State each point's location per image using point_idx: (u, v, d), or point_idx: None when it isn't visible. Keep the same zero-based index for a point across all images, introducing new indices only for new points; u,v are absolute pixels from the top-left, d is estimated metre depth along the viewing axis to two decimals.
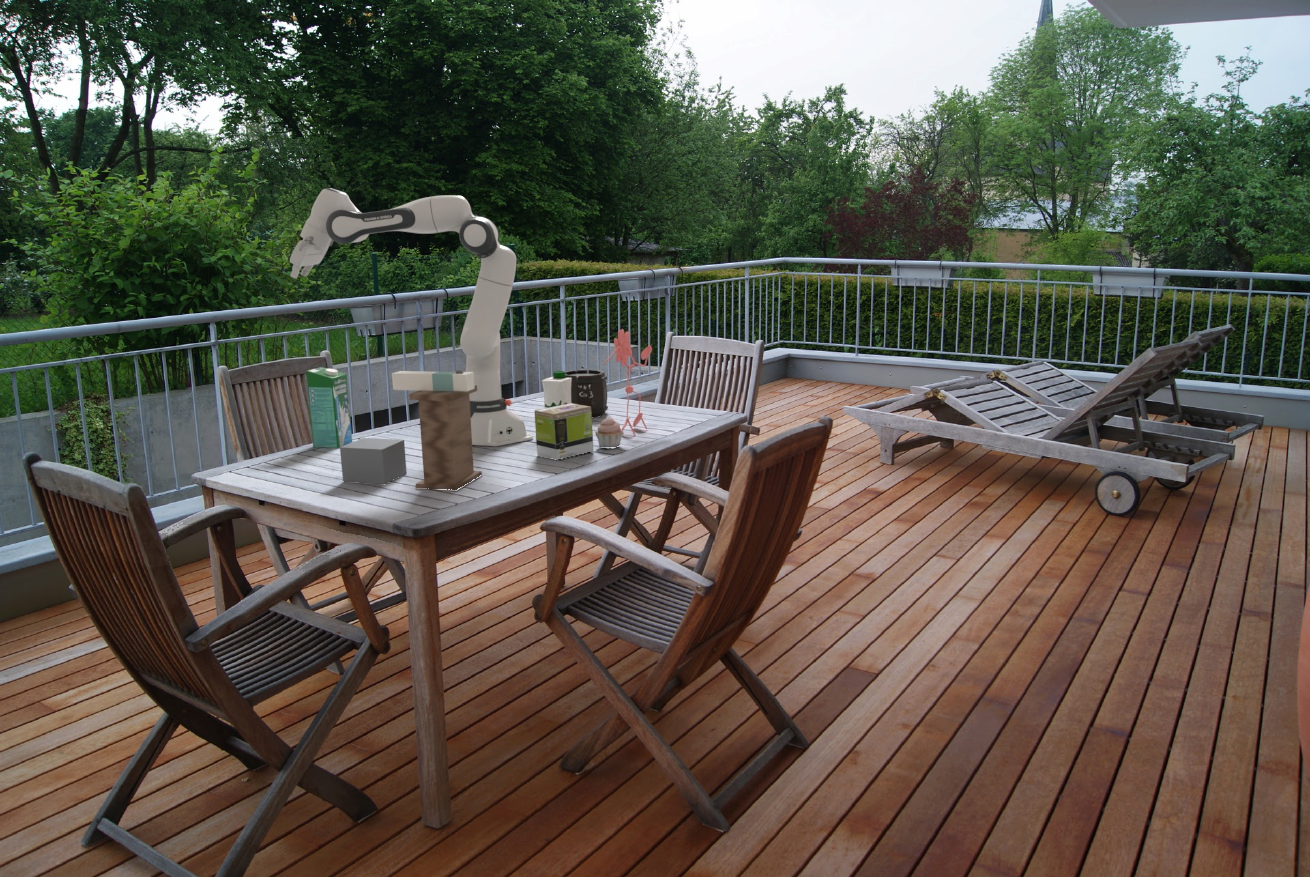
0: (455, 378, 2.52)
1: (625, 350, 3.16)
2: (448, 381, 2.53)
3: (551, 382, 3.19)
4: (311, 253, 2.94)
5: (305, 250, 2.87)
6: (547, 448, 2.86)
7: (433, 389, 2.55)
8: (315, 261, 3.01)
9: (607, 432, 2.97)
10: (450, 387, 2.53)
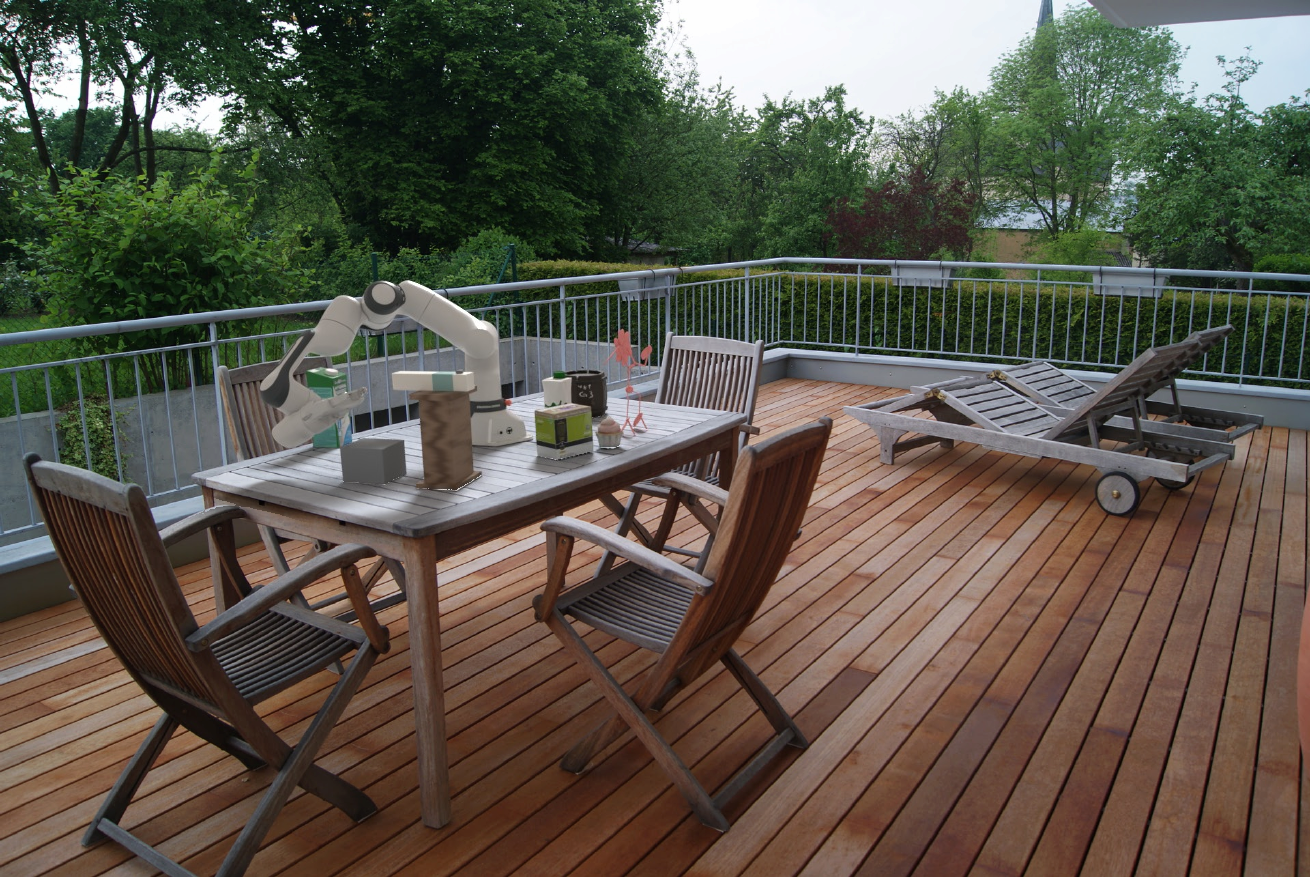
0: (455, 378, 2.52)
1: (625, 350, 3.16)
2: (448, 381, 2.53)
3: (551, 382, 3.19)
4: None
5: (307, 410, 2.58)
6: (547, 448, 2.86)
7: (433, 389, 2.55)
8: None
9: (607, 432, 2.97)
10: (450, 387, 2.53)
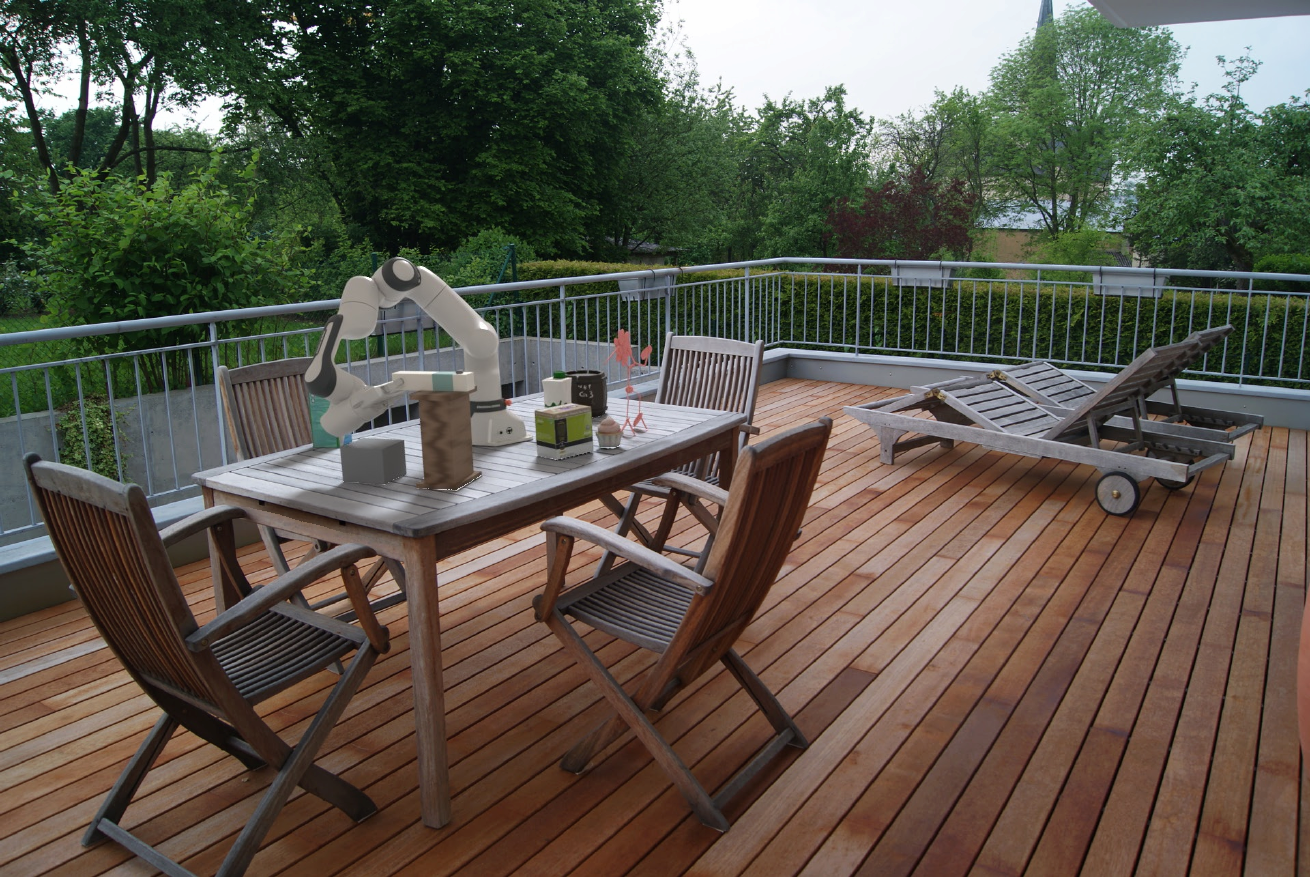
0: (455, 378, 2.52)
1: (625, 350, 3.16)
2: (448, 381, 2.53)
3: (551, 382, 3.19)
4: None
5: (358, 397, 2.53)
6: (547, 448, 2.86)
7: (433, 389, 2.55)
8: None
9: (607, 432, 2.97)
10: (450, 387, 2.53)
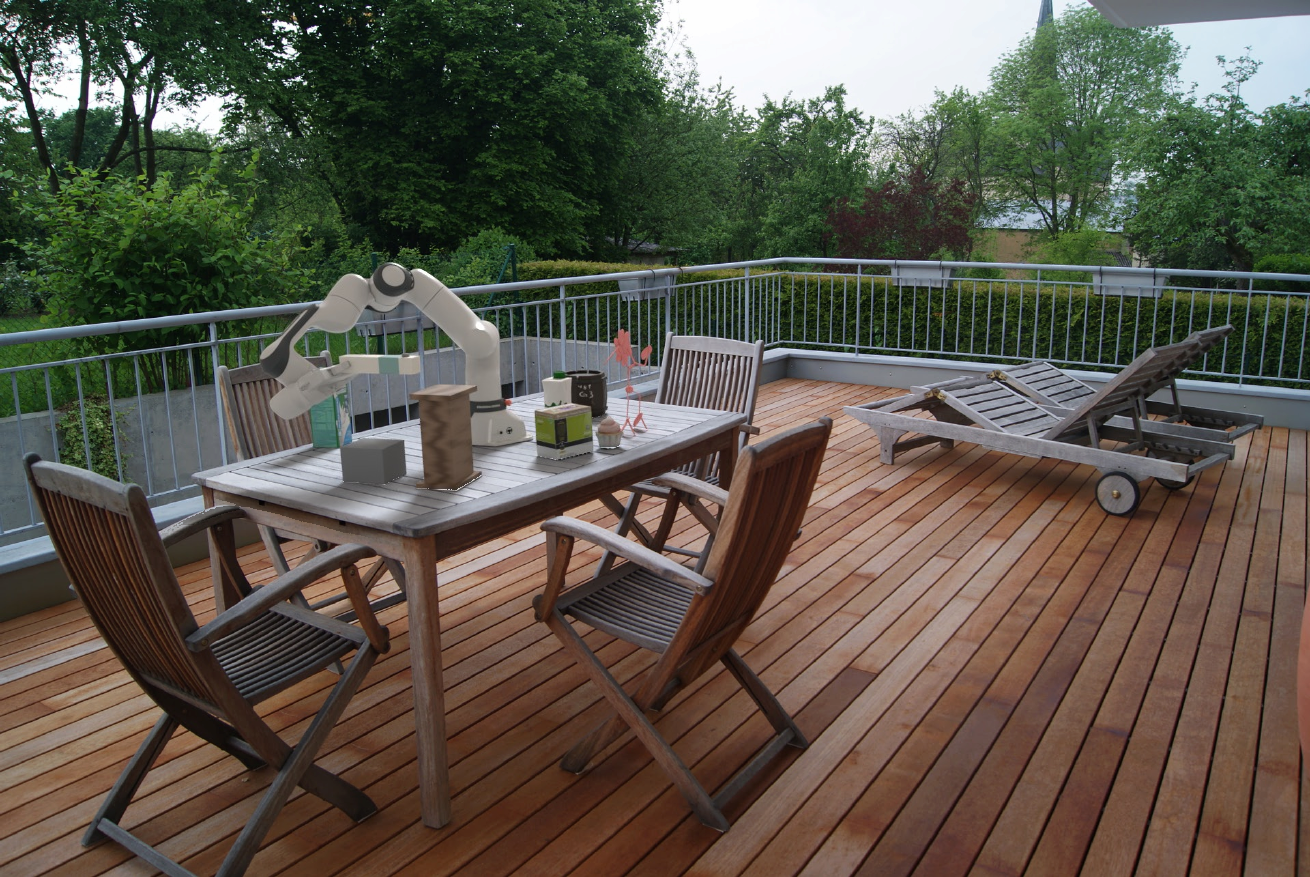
0: (401, 361, 2.55)
1: (625, 350, 3.16)
2: (394, 364, 2.56)
3: (551, 382, 3.19)
4: None
5: (305, 379, 2.56)
6: (547, 448, 2.86)
7: (379, 372, 2.58)
8: None
9: (607, 432, 2.97)
10: (396, 370, 2.56)
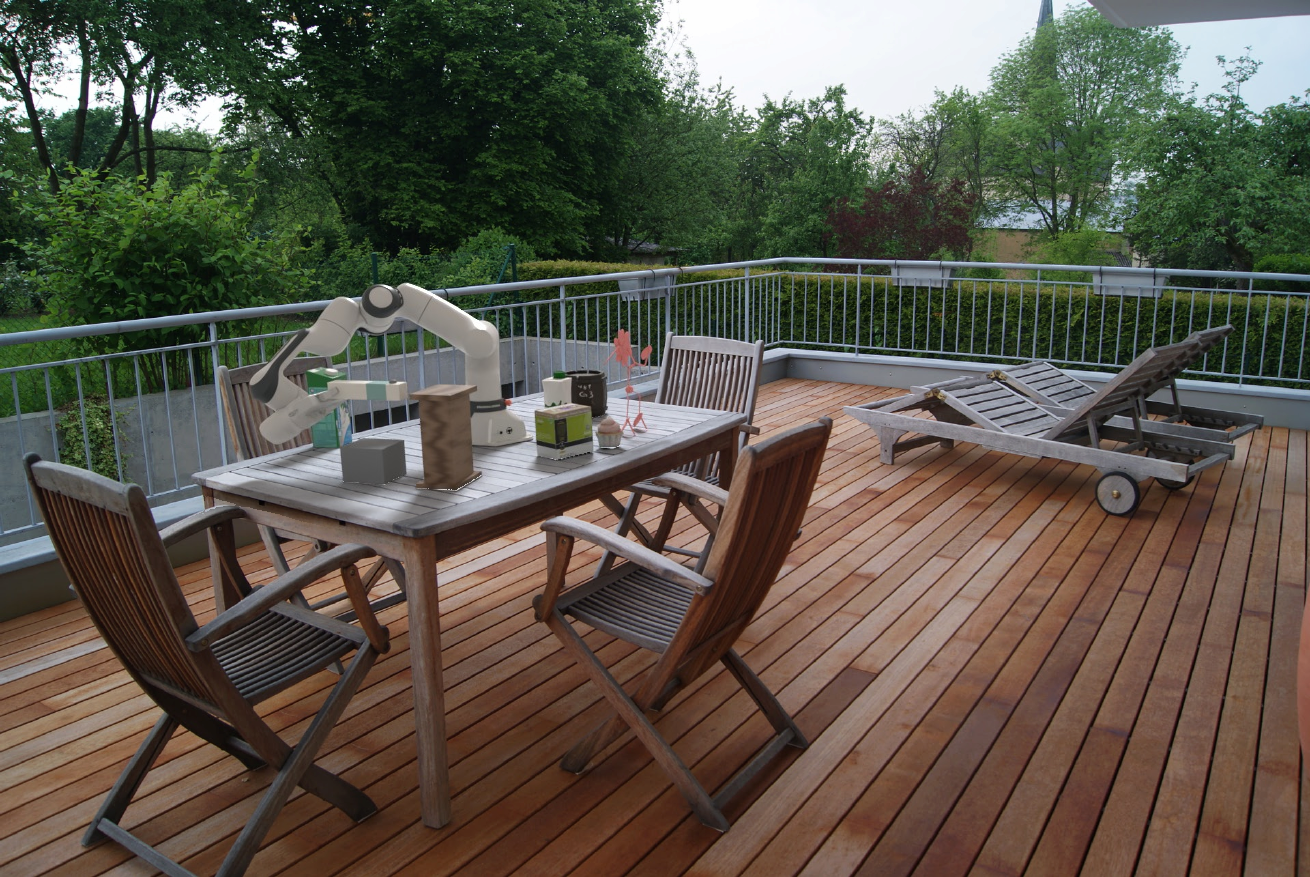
0: (388, 388, 2.58)
1: (625, 350, 3.16)
2: (382, 390, 2.59)
3: (551, 382, 3.19)
4: None
5: (293, 406, 2.58)
6: (547, 448, 2.86)
7: (367, 398, 2.60)
8: None
9: (607, 432, 2.97)
10: (383, 396, 2.59)
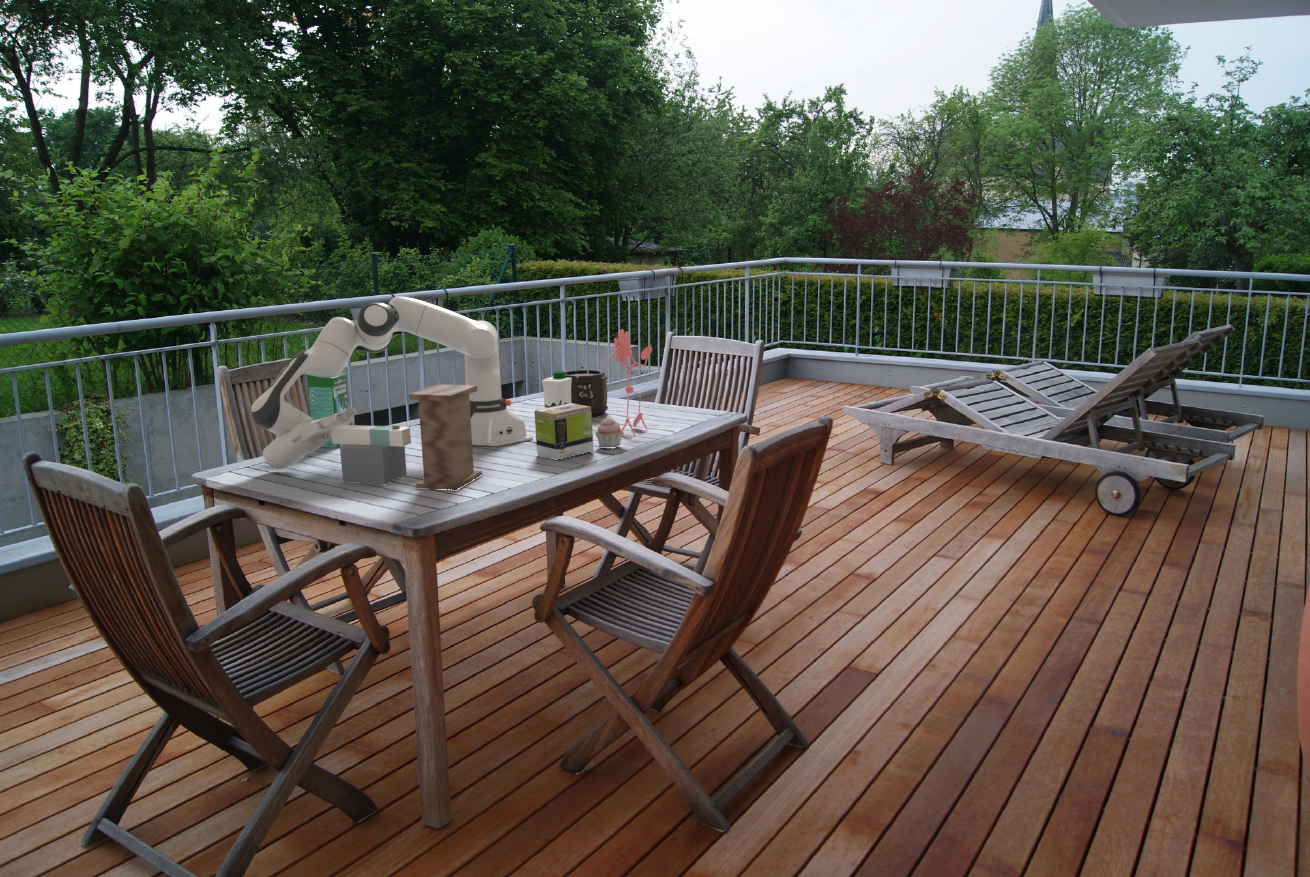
0: (391, 434, 2.61)
1: (625, 350, 3.16)
2: (385, 436, 2.62)
3: (551, 382, 3.19)
4: None
5: (297, 432, 2.60)
6: (547, 448, 2.86)
7: (370, 444, 2.63)
8: None
9: (607, 432, 2.97)
10: (386, 442, 2.62)
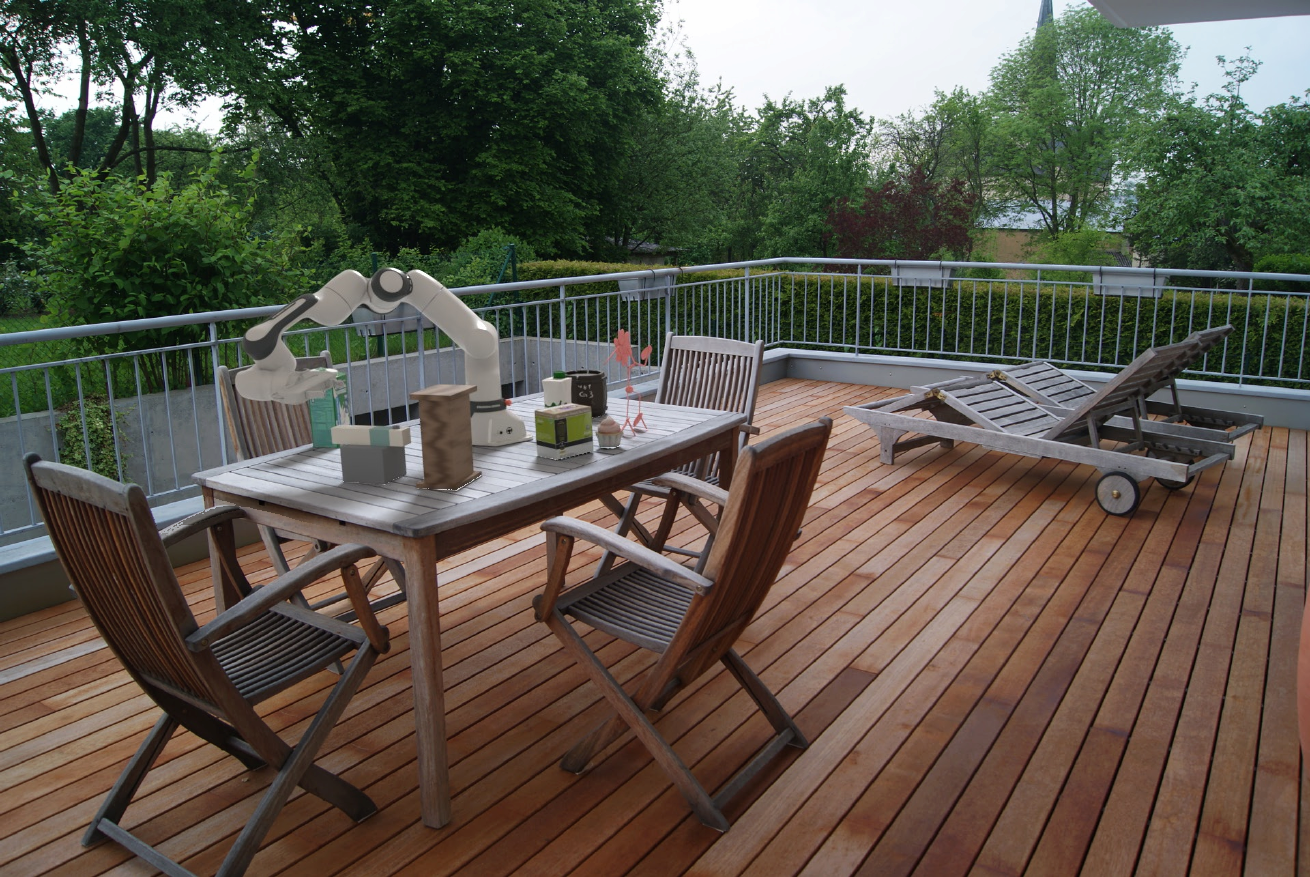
0: (391, 434, 2.61)
1: (625, 350, 3.16)
2: (385, 436, 2.62)
3: (551, 382, 3.19)
4: None
5: (281, 392, 2.58)
6: (547, 448, 2.86)
7: (370, 444, 2.63)
8: (321, 378, 2.69)
9: (607, 432, 2.97)
10: (386, 442, 2.62)
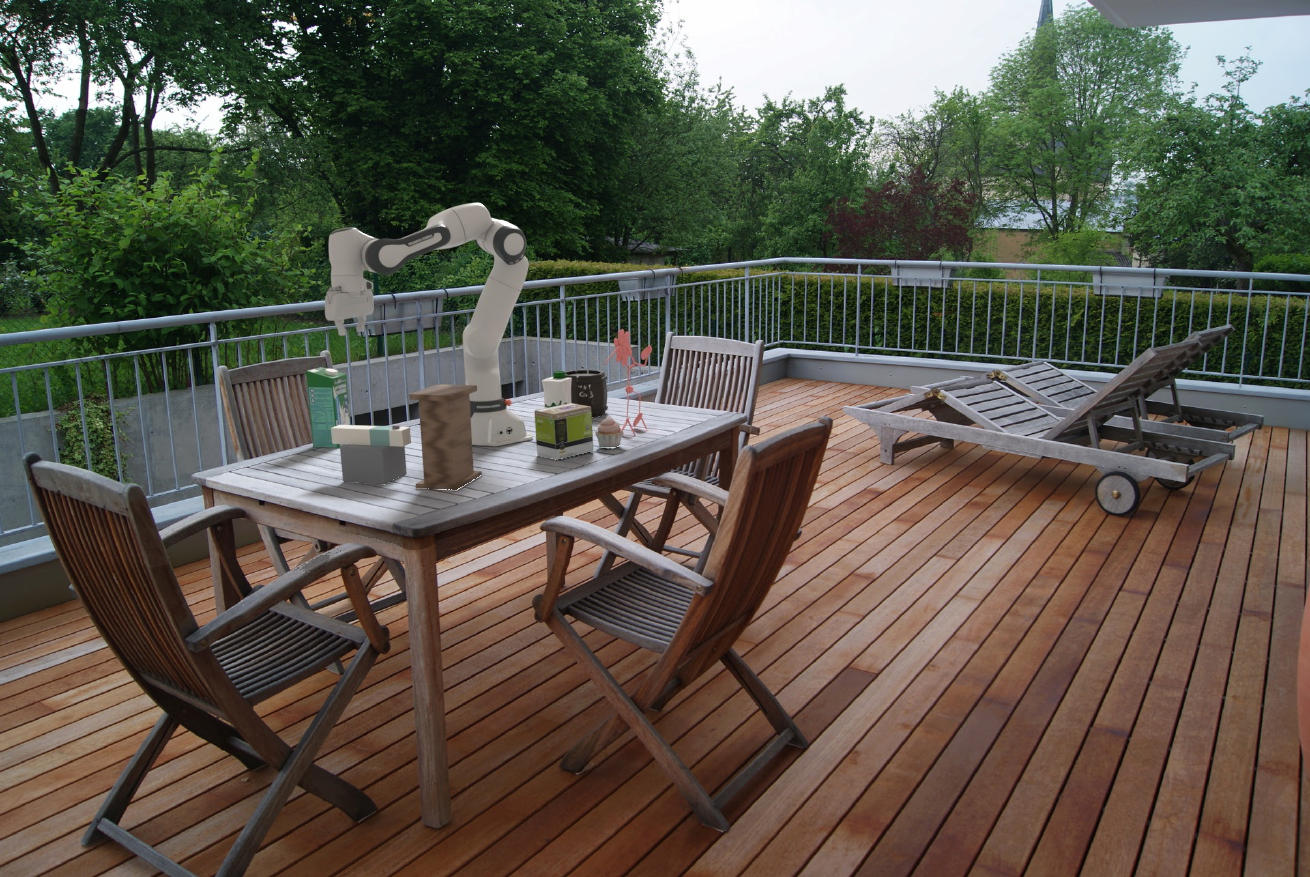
0: (391, 434, 2.61)
1: (625, 350, 3.16)
2: (385, 436, 2.62)
3: (551, 382, 3.19)
4: (348, 303, 2.71)
5: (334, 301, 2.64)
6: (547, 448, 2.86)
7: (370, 444, 2.63)
8: (363, 311, 2.78)
9: (607, 432, 2.97)
10: (386, 442, 2.62)
